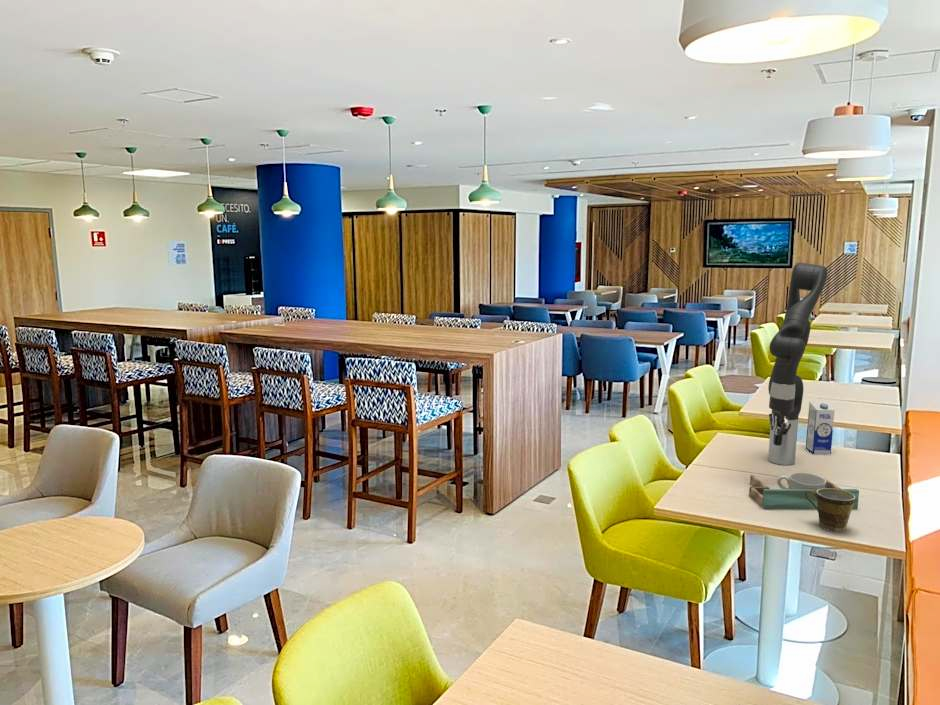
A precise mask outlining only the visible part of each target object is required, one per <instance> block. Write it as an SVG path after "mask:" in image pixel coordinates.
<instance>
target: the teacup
mask: <svg viewBox="0 0 940 705" xmlns="http://www.w3.org/2000/svg"><path fill="white" fill-rule="evenodd" d="M824 478H825V477H822V476H821V475H818V474H816V473H812V472H811V473H810V472H804V471H795V472H791V473H790V474H789V476H787V475H783V474H782V475H779V476H778V477H777V479H776V483H777V485H778V487H779V489H822V488H825V485H826V480H825V479H826V478H825V479H824ZM782 480H786V483H787V486H788V487H786V486H784V485H783V484H782V483H781V481H782Z"/></svg>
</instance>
